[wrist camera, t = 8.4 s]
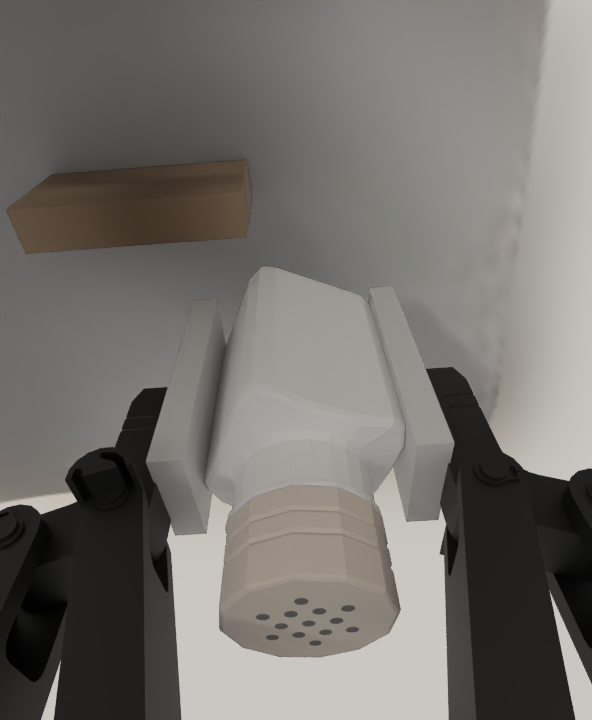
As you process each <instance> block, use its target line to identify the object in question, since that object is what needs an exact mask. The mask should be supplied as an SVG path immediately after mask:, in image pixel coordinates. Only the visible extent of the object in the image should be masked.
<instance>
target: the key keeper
mask: <svg viewBox="0 0 592 720" xmlns="http://www.w3.org/2000/svg"><path fill="white" fill-rule="evenodd" d="M251 203H252V195H251V187H250V179H249V171H248V163H247V160H234V161H221V162H208V163H195V164H182V165H170V166H157V167H144V168H131V169H118V170H105V171H93V172H80V173H67V174H54V175H51V176H49V177H48V178H47V179H45V180H44V181H43V182H41V183H40V184H39V185H38V186H36V187H35V188H34V189H32V190H31V191H30V192H28V193H27V194H26V195H24V196H23V197H22V198H21V199H19V200H18V201H17V202H15V203H14V204H13V205H11V206H10V207H9V208H8V209H6V212H7V214H8V216H9V218H10V220H11V223H12V225H13V227H14V229H15V231H16V233H17V236H18V238H19V240H20V242H21V244H22V246H23V249H24V251H25V253H26V254H29V253H42V252H55V251H69V250H82V249H95V248H109V247H122V246H136V245H149V244H162V243H176V242H189V241H202V240H216V239H229V238H242V237H247V232H248V225H249V217H250V210H251Z"/></svg>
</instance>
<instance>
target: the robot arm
mask: <svg viewBox="0 0 592 720" xmlns="http://www.w3.org/2000/svg"><path fill="white" fill-rule="evenodd" d="M369 304H370V305H371V308H372V312H373V315H374V319H375V322H376V326H377V329H378V332H379V336H380V339H381V343H382V346H383V349H384V353H385V356H386V360H387V363H388V366H389V370H390V373H391V377H392V380H393V383H394V387H395V390H396V394H397V397H398V401H399V404H400V407H401V411H402V414H403V418H404V421H405V440H404V447H403V449H402V450H401V452H400V454H399V456H398V458H397V460H396V461H395V463H394V465H393V467H394V471H395V476H396V480H397V484H398V488H399V493H400V497H401V501H402V505H403V509H404V513H405V517H406V521H407V522H409V521H426V520H438V518H439V513H440V509H441V508H442V512H443V514H444V518H445V521H446V528H445V533H444V537H443V541H442V545H441V550H440V554H442V555H444V562H445V595H446V627H447V628H446V631H447V632H446V633H447V667H448V668H447V669H448V704H449V720H575V715H574V711H573V706H572V701H571V696H570V691H569V686H568V681H567V676H566V671H565V666H564V661H563V656H562V651H561V646H560V641H559V636H558V631H557V626H556V621H555V616H554V611H553V606H552V601H551V597H550V592H551V594H552V596H553V599H554V601H555V603H556V606H557V607H558V610H559V612H560V614H561V617H562V619H563V621H564V623H565V626H566V628H567V630H568V632H569V634H570V637H571V639H572V641H573V643H574V646H575V648H576V650H577V652H578V654H579V657H580V659H581V661H582V663H583V666H584V668H585V670H586V672H587V674H588V677H589V679H590V681H591V683H592V469H586V470H581V471H578V472H577V473H575V474H574V475H573V476H572V477H571V479H570V481H566V480H560V479H555V478H551V477H545V476H541V475H537V474H534V473H530V472H528V471H526V470H523V468H522V467H521V466H520V465H519V464H518V463H517V462H516V461H515V460H514V459H513V458H512V457H510V456H508V455H506V454H504V453H503V452H502V451H501V449H500V447H499V445H498V443H497V441H496V439H495V437H494V435H493V433H492V431H491V429H490V427H489V425H488V423H487V420H486V418H485V416H484V414H483V412H482V410H481V408H480V407H479V404H478V402H477V400H476V398H475V396H473V392H472V390H471V388H470V386H469V384H468V382H467V380H466V378H465V377H463V376H462V375H461V374H460V373H459V372H458V371H456V370H455V369H454V368H453V367H448V368H433V369H425V366H424V363H423V361H422V358H421V356H420V353H419V351H418V348H417V346H416V343H415V341H414V338H413V335H412V333H411V330H410V328H409V325H408V323H407V320H406V318H405V315H404V312H403V310H402V307H401V305H400V302H399V300H398V297H397V295H396V292H395V289H394V287H393V286H390V287H376V288H369ZM225 348H226V341H225V336H224V331H223V326H222V321H221V316H220V311H219V306H218V300H217V299H205V300H194V301H193V304H192V307H191V311H190V314H189V317H188V321H187V324H186V327H185V331H184V334H183V338H182V341H181V344H180V348H179V351H178V354H177V358H176V361H175V365H174V368H173V371H172V375H171V378H170V381H169V385H168V387H163V388H148V389H143V390H142V392H141V393H140V394H139V395H138V396H137V397H136V398H135V399H134V400H133V401H132V403H131V406H130V408H129V411H128V414H127V416H126V417H127V419H125V422H124V424H123V427H122V431H121V432H120V435H119V438H118V440H117V443H116V446H115V448H114V447H109V448H100V449H98V450H95V451H92V452H90V453H88V454H86V455H85V456H83V457H82V458H80V459H79V460H77V461H76V462H75V464H74V465H73V466H72V467H71V468H70V469H69V471H68V474H67V476H66V479H65V481H66V483H67V485H68V486H69V488H70V490H71V491H72V493H73V495H74V496H75V498H76V500H77V501H78V502H75V503H73V504H71V505H68V506H65V507H62V508H59V509H56V510H53V511H50V512H47V513H44V514H41V515H40V513H39V512H38V511H37V510H36V509H34V508H33V507H32V506H28V505H16V506H12V507H7V508H5V509H3V510H1V511H0V720H41V718H42V715H43V711H44V708H45V705H46V702H47V699H48V696H49V693H50V690H51V687H52V684H53V681H54V678H55V675H56V672H57V669H58V666H59V663H60V660H61V664H60V673H59V682H58V690H57V698H56V706H55V715H54V720H181V708H180V692H179V675H178V659H177V644H176V627H175V612H174V596H173V579H172V563H171V552H170V548H169V545H168V543H167V537H168V532H169V528H170V523H171V526H172V528H173V531H174V533H175V535H190V534H204V533H205V534H206V533H207V526H208V519H209V511H210V504H211V497H212V492H211V491H210V490H208V488H207V486H206V484H205V479H204V477H205V471H206V464H207V458H208V452H209V446H210V440H211V434H212V427H213V421H214V415H215V409H216V403H217V397H218V390H219V384H220V378H221V372H222V366H223V360H224V353H225ZM549 590H550V592H549Z"/></svg>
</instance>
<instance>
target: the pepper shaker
mask: <svg viewBox="0 0 592 720" xmlns="http://www.w3.org/2000/svg"><path fill="white" fill-rule="evenodd" d="M404 440H405V421H404V418H403V414H402V411H401V407H400V404H399V401H398V397H397V394H396V390H395V387H394V383H393V380H392V377H391V373H390V370H389V366H388V363H387V360H386V356H385V353H384V349H383V346H382V343H381V339H380V336H379V332H378V329H377V326H376V322H375V319H374V315H373V312H372V308H371V305H370V304H369V303H368V302H367V301H366V300H365V299H364V298H362V297H361V296H360V295H358V294H355V293H352V292H349V291H346V290H343V289H340V288H337V287H334V286H331V285H328V284H325V283H322V282H319V281H316V280H313V279H310V278H307V277H304V276H301V275H298V274H295V273H291V272H288V271H285V270H282V269H279V268H276V267H266V266H262V267H261V268H260V269H259V270H258V271H257V272H256V273H255V274H254V275H253V276H252V277H251V278H250V280H249V283H248V286H247V289H246V291H245V294H244V297H243V300H242V303H241V306H240V308H239V311H238V314H237V317H236V320H235V323H234V326H233V328H232V331H231V334H230V337H229V340H228V343H227V346H226V348H225V353H224V360H223V366H222V372H221V378H220V384H219V390H218V397H217V403H216V409H215V415H214V421H213V427H212V434H211V440H210V446H209V452H208V458H207V464H206V471H205V477H204V479H205V484H206V486H207V488H208V490H210V491H211V492H212V493H213V494H214V495H216V496H217V497H218V498H219V499H220V500H221V501H223V502H224V503H227V504H229V505H232V506H233V507H232V510H231V511H230V513H229V515H228V519H227V523H226V534H227V536H226V545H225V556H224V567H223V575H222V584H221V594H220V604H219V628H220V631H222V632H223V633H224V634H226V635H227V636H228V637H230V638H231V639H232V640H234V641H235V642H236V643H238V644H239V645H240V646H241V647H243V648H247V649H251V650H255V651H258V652H263V653H266V654H270V655H274V656H278V657H324V656H328V655H334V654H338V653H343V652H348V651H353V650H357V649H360V648H362V647H364V646H366V645H368V644H370V643H371V642H374V641H375V640H377V639H379V638H381V637H383V636H385V635H387V634H389V632H390V631H391V629H392V627H393V625H394V623H395V621H396V619H397V617H398V615H399V613H400V610H401V609H400V604H399V599H398V594H397V589H396V584H395V579H394V574H393V571H392V570H391V565H392V564H391V558H390V553H389V550H388V548H387V544H388V543H387V538H386V533H385V528H384V524H383V518H382V515H381V513H380V509H379V507H378V506H377V505H376V504H375V502H374V496H373V494H374V492H375V491H376V490H377V489H378V488H379V486H380V485H381V484H382V482H383V481H384V479H385V478H386V476H387V475H388V473H389V472H390V471H391V469H392V467H393V465H394V463H395V461H396V460H397V458H398V456H399V454H400V452H401V450H402V449H403V447H404Z"/></svg>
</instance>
